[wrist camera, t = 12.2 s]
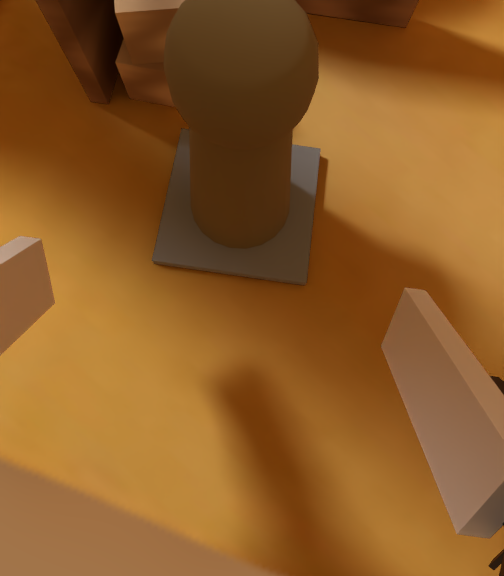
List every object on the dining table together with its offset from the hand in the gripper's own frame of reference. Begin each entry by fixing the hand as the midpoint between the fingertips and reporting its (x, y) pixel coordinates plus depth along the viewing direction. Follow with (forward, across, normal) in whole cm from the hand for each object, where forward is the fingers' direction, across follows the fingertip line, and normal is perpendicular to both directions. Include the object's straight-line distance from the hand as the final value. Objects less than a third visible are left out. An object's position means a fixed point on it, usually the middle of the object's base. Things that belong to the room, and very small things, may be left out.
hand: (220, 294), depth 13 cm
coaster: (+10, 0, 0) cm, 10 cm away
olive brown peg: (+10, 0, +1) cm, 10 cm away
